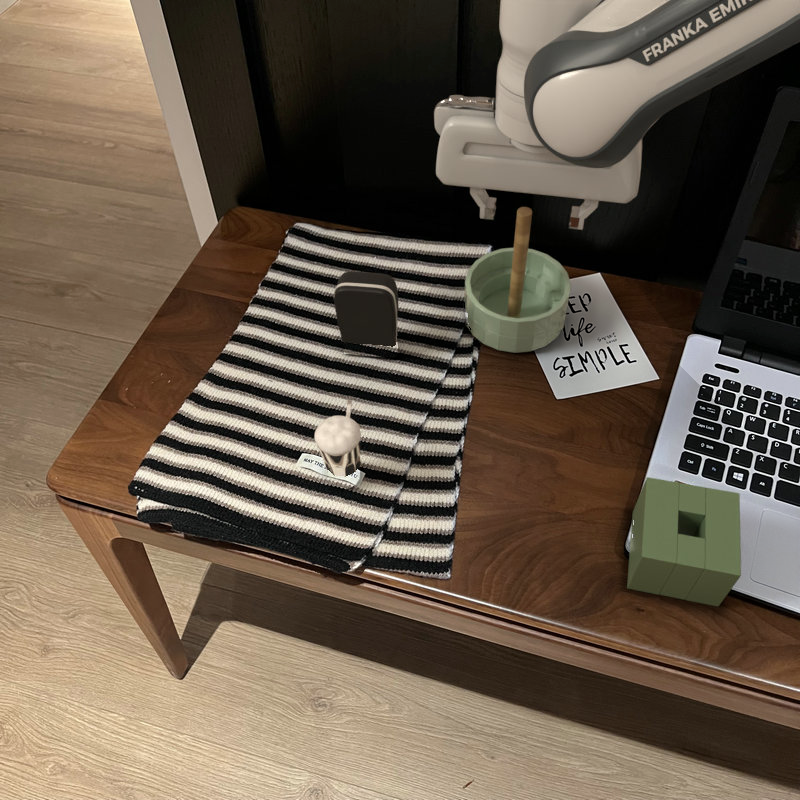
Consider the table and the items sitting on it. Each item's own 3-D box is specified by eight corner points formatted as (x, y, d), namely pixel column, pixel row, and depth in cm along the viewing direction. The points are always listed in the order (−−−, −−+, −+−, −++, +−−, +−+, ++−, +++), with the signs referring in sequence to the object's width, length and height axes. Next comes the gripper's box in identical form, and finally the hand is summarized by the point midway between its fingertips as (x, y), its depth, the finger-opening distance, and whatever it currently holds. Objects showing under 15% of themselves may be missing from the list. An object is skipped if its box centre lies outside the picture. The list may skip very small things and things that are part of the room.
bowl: (569, 290, 98) (575, 254, 94) (557, 362, 91) (564, 328, 87) (474, 277, 100) (475, 241, 96) (455, 347, 93) (456, 313, 89)
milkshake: (377, 461, 84) (370, 407, 76) (355, 501, 81) (345, 449, 73) (340, 448, 85) (329, 392, 78) (317, 486, 83) (303, 433, 75)
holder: (718, 528, 78) (739, 493, 72) (718, 606, 73) (741, 575, 67) (632, 512, 79) (646, 476, 74) (626, 588, 74) (641, 556, 69)
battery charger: (403, 337, 95) (399, 268, 86) (398, 361, 93) (393, 293, 83) (347, 332, 96) (337, 263, 87) (341, 356, 93) (330, 288, 84)
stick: (521, 310, 96) (533, 207, 83) (519, 320, 95) (531, 217, 82) (508, 309, 96) (518, 205, 83) (506, 318, 95) (516, 215, 82)
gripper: (426, 112, 72) (430, 228, 83) (653, 132, 68) (625, 251, 79) (440, 76, 76) (442, 191, 87) (656, 92, 72) (629, 211, 83)
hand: (531, 220), depth 83 cm, fingers open, 8 cm apart
